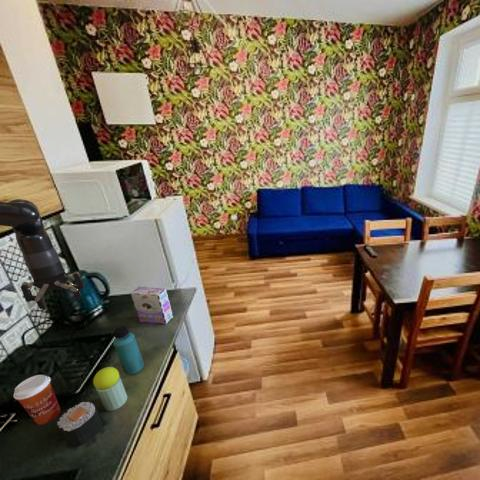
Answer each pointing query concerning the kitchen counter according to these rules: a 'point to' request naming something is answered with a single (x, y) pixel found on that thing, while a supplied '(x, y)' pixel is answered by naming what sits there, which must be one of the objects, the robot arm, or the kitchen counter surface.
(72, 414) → the sushi
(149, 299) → the candy box
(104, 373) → the ball
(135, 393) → the kitchen counter surface
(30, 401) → the paper cup
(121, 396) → the ceramic cup
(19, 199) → the robot arm
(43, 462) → the kitchen counter surface
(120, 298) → the kitchen counter surface
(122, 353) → the beverage bottle
